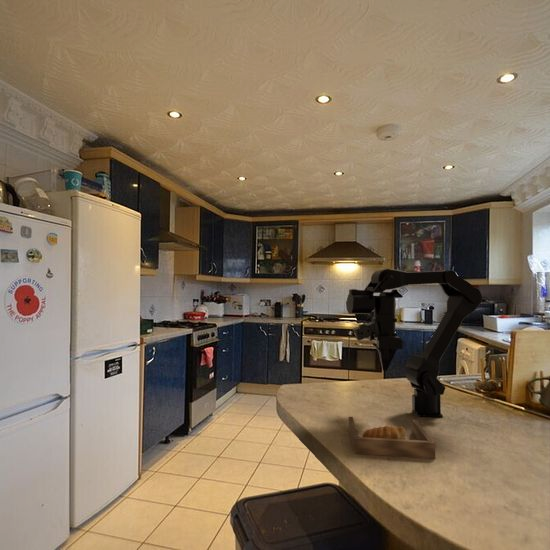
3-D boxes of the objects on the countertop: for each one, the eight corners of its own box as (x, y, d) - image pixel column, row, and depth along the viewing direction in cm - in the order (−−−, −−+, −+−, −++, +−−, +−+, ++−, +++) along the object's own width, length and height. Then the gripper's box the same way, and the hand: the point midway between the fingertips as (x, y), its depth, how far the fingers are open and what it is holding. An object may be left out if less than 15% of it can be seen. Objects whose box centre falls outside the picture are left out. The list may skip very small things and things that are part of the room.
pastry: (362, 447, 77) (362, 429, 78) (362, 435, 84) (362, 419, 84) (408, 452, 75) (408, 433, 75) (404, 440, 82) (404, 423, 82)
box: (416, 432, 85) (416, 420, 85) (435, 458, 72) (435, 443, 72) (348, 429, 87) (348, 416, 87) (354, 453, 74) (354, 438, 74)
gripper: (351, 312, 110) (351, 363, 109) (359, 315, 91) (359, 377, 90) (388, 312, 109) (389, 364, 108) (404, 316, 90) (404, 378, 89)
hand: (384, 370), depth 99 cm, fingers closed
